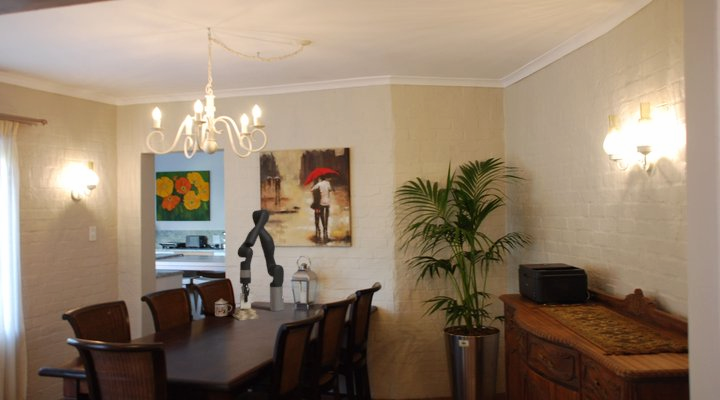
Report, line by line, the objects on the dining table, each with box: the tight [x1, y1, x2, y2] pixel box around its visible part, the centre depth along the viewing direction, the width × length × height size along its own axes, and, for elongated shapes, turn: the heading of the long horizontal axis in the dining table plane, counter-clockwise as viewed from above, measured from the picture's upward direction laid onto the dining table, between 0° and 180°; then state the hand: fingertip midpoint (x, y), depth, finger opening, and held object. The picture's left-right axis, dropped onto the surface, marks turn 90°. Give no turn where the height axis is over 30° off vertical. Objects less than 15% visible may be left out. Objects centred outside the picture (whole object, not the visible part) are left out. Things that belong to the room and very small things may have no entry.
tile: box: [239, 292, 252, 309], centre depth 386 cm, size 7×2×10 cm, turn 116°
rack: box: [232, 307, 260, 321], centre depth 385 cm, size 14×17×5 cm
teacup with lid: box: [214, 298, 233, 317], centre depth 394 cm, size 12×9×12 cm
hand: (245, 301), depth 386 cm, fingers closed on tile, 2 cm apart
